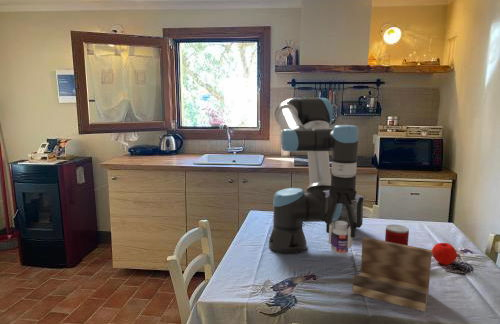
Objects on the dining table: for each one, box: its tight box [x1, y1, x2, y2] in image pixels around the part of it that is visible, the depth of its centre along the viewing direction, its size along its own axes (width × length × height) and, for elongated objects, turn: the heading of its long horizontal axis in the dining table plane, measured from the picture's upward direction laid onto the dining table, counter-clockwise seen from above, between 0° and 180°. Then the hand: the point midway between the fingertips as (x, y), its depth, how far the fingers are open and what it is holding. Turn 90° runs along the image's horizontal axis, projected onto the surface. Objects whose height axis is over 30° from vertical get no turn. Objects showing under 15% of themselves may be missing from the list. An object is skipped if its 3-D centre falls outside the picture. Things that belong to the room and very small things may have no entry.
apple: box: [431, 242, 458, 266], centre depth 127 cm, size 8×8×7 cm
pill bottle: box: [330, 221, 349, 255], centre depth 114 cm, size 5×5×10 cm
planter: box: [332, 198, 358, 229], centre depth 161 cm, size 14×14×15 cm
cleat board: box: [352, 236, 433, 312], centre depth 107 cm, size 20×11×14 cm, turn 59°
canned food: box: [384, 224, 410, 246], centre depth 133 cm, size 8×8×11 cm
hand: (340, 244), depth 115 cm, fingers closed on pill bottle, 5 cm apart
